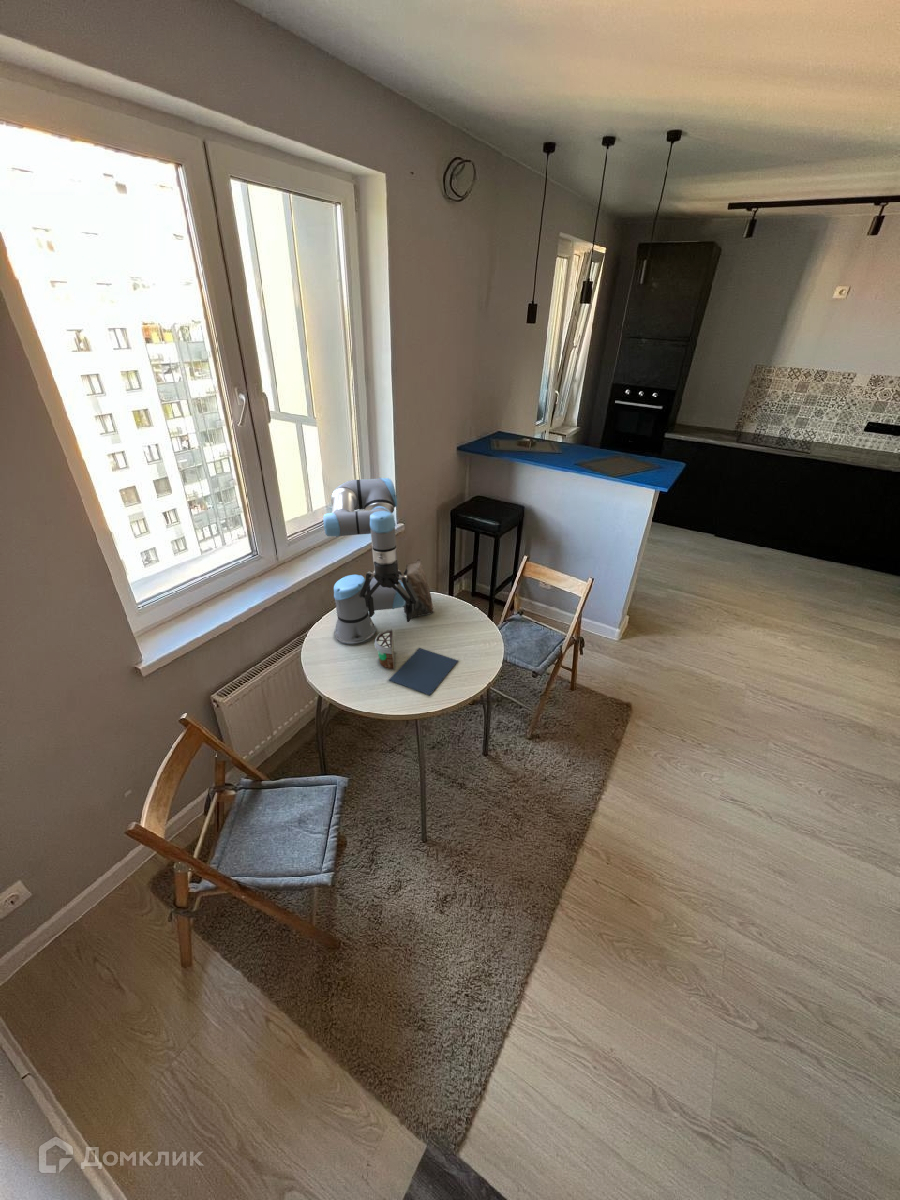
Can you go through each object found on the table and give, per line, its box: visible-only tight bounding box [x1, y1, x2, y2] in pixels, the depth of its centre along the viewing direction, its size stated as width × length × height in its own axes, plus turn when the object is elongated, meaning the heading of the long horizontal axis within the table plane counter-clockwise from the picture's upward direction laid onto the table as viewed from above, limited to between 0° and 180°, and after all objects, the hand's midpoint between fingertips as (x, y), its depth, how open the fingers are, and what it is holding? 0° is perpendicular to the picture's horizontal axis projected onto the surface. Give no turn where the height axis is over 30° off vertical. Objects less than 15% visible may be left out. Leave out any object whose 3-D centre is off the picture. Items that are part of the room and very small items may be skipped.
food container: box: [374, 628, 395, 670], centre depth 172 cm, size 12×6×10 cm, turn 5°
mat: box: [388, 647, 459, 696], centre depth 170 cm, size 16×20×1 cm
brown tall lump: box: [402, 559, 434, 618], centre depth 198 cm, size 13×13×20 cm
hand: (390, 617), depth 167 cm, fingers open, 13 cm apart
